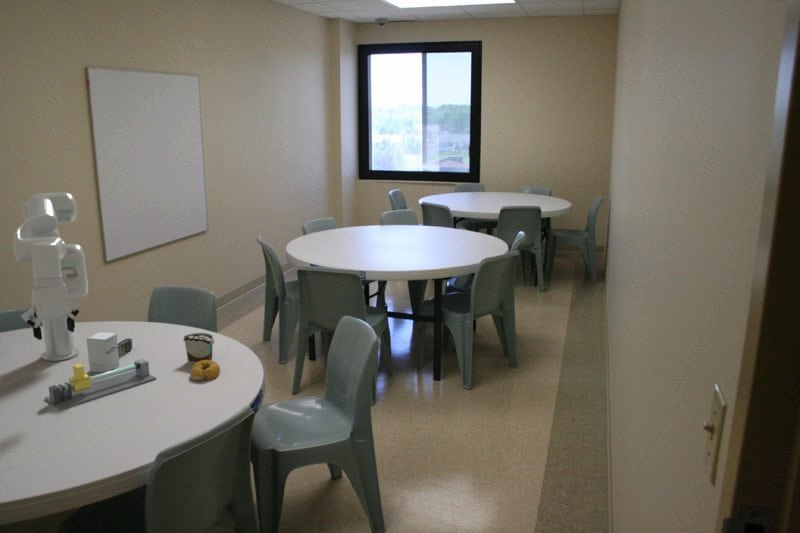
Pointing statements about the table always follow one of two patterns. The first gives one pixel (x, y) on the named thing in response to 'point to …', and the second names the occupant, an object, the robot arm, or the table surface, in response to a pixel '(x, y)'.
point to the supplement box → (103, 352)
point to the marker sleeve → (80, 379)
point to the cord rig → (100, 385)
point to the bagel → (205, 370)
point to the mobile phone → (124, 347)
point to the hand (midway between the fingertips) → (55, 334)
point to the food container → (199, 346)
